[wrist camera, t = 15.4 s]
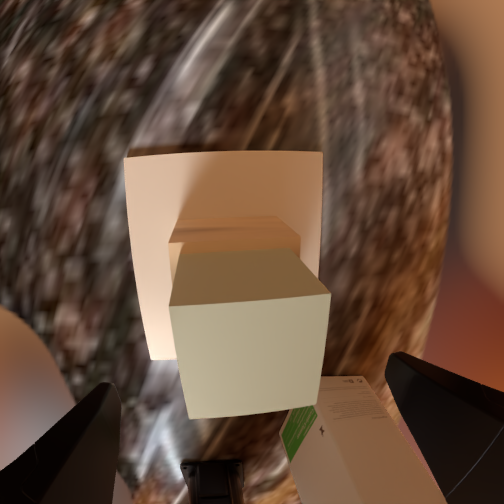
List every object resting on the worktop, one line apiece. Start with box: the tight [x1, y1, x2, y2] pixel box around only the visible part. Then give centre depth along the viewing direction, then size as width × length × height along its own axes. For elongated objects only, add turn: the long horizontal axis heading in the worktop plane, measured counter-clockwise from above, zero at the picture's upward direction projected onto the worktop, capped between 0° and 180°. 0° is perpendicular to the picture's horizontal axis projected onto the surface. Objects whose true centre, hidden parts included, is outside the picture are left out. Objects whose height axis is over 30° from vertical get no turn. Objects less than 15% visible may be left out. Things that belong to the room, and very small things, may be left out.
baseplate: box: [124, 151, 323, 360], centre depth 20 cm, size 14×12×1 cm
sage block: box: [169, 248, 331, 419], centre depth 12 cm, size 5×5×5 cm
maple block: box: [168, 216, 301, 287], centre depth 17 cm, size 6×6×5 cm
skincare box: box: [279, 376, 447, 504], centre depth 18 cm, size 8×7×16 cm
